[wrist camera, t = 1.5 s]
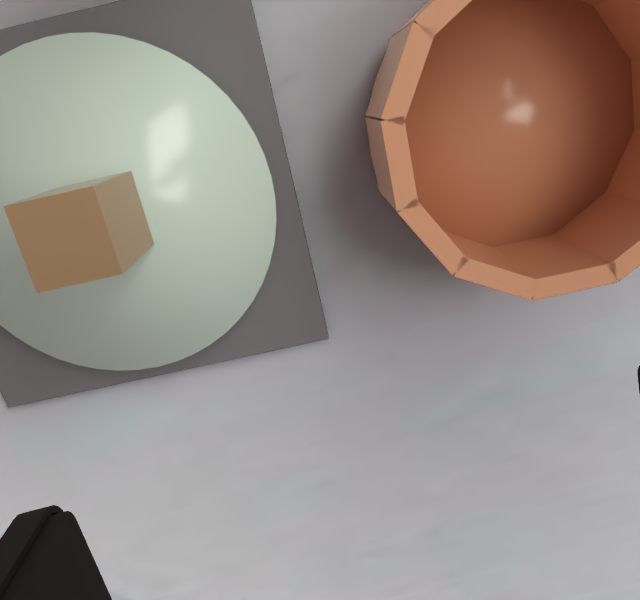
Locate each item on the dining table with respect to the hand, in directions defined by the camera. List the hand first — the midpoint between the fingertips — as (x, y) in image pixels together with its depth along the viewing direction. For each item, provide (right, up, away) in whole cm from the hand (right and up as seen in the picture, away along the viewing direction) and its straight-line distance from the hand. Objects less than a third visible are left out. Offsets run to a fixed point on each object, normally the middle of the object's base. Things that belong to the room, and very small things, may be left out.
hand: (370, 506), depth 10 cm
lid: (-12, +8, +23) cm, 28 cm away
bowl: (+9, +13, +23) cm, 28 cm away
